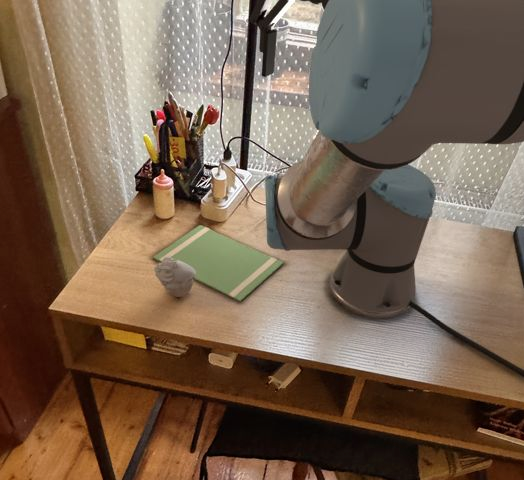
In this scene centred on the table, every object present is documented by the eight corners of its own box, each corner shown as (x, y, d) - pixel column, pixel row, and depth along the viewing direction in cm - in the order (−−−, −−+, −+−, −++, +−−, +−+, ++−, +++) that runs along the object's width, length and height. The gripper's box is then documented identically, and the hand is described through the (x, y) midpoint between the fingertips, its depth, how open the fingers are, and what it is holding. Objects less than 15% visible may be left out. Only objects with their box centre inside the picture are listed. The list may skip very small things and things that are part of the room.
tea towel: (283, 263, 102) (283, 262, 102) (240, 302, 94) (240, 300, 94) (200, 226, 109) (200, 224, 109) (153, 258, 101) (152, 256, 101)
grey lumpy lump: (157, 282, 96) (154, 250, 91) (196, 282, 97) (196, 249, 92) (156, 305, 92) (152, 272, 87) (197, 304, 93) (196, 272, 88)
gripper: (416, -65, 72) (380, 99, 87) (259, -94, 80) (252, 60, 95) (393, -59, 67) (360, 113, 82) (230, -90, 76) (227, 71, 91)
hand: (302, 85), depth 89 cm, fingers open, 13 cm apart
